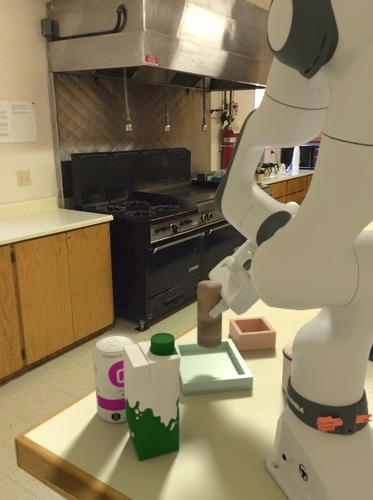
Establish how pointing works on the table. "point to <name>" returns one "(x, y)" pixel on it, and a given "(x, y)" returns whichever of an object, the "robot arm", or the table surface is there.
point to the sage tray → (212, 368)
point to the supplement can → (110, 377)
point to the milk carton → (152, 395)
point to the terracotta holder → (252, 333)
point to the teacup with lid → (286, 364)
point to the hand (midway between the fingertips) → (207, 308)
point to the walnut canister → (206, 325)
